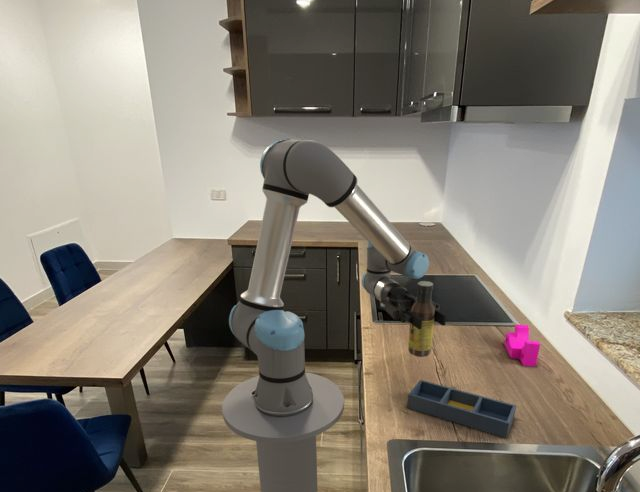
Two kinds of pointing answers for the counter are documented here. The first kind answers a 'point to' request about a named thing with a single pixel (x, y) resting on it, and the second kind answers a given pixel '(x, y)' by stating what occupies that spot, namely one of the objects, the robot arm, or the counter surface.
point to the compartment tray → (462, 407)
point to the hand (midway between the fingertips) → (432, 322)
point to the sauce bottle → (425, 310)
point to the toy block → (522, 346)
